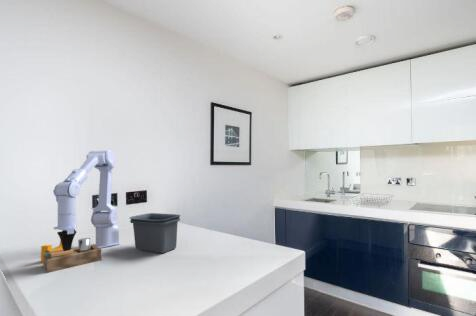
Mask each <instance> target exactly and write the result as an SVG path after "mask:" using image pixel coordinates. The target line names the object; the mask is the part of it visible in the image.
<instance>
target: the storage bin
mask: <svg viewBox="0 0 476 316" xmlns="http://www.w3.org/2000/svg"><path fill="white" fill-rule="evenodd" d="M178 222H181V214H176V213H175V214H173V213H157V212H156V213H155V212H152V213H151V212H149V213H144V214H139V215H133V216H129V223H130V224H132V227H133V236H134V246H135V249H136V250H139V251H145V252H146V251H147V252H153V253H158V254H164V253H167V252H170V251H171V250H174V249H176V248H177V238H178V236H177V235H178Z"/></svg>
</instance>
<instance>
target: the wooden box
mask: <svg viewBox="0 0 476 316" xmlns="http://www.w3.org/2000/svg"><path fill="white" fill-rule="evenodd" d="M72 249H73V250H74V253H72V254H66V255H60V256H54V257H51V254H47V257H46V255H45V254H44V263H43V266H44V268H45V270H46V273H51V272H52V273H53V272H56V271H61V270H64V269H69V268H73V267H77V266H82V265H85V264H90V263H96V262H100V261H102V248H98V247H97V246H96V245H93V244H90V251H85V252H80V253H78V247H75V248H72ZM46 252H49V250H48V251H45V253H46Z"/></svg>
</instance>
